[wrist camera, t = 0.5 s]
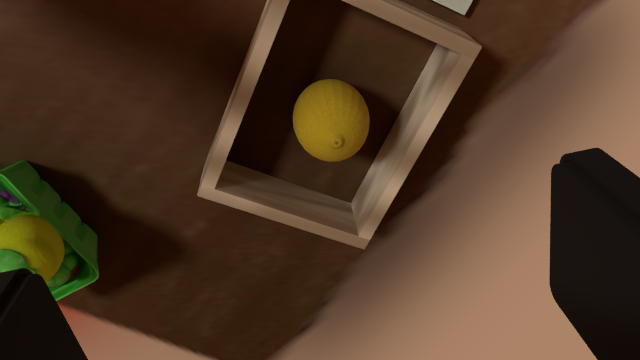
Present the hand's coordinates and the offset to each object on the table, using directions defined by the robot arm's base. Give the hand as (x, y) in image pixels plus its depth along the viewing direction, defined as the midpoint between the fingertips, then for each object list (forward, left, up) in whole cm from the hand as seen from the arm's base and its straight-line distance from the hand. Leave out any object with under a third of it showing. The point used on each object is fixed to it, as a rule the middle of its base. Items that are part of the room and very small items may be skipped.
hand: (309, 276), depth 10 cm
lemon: (+7, +6, -32) cm, 34 cm away
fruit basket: (+25, -12, -33) cm, 43 cm away
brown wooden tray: (+7, +6, -32) cm, 34 cm away
